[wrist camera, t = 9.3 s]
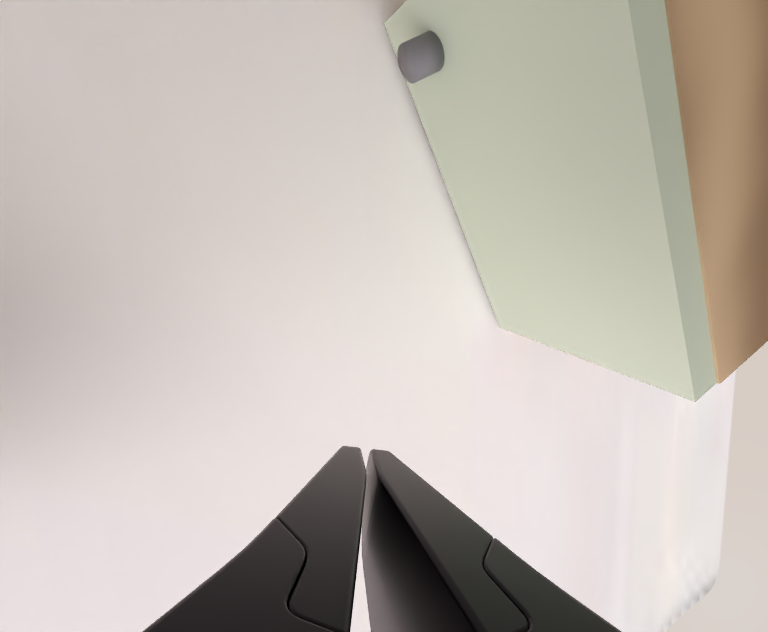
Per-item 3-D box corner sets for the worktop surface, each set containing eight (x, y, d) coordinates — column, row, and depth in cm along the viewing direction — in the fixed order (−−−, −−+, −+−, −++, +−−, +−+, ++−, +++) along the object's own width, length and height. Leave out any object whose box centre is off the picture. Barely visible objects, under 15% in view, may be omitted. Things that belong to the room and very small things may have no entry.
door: (486, 344, 24) (674, 431, 14) (360, 33, 17) (551, -180, 8) (517, 322, 24) (718, 392, 15) (406, 13, 18) (636, -209, 8)
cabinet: (511, 315, 24) (719, 383, 15) (403, 16, 18) (640, -214, 8) (605, 249, 26) (846, 270, 16) (536, -43, 20) (857, -287, 10)
